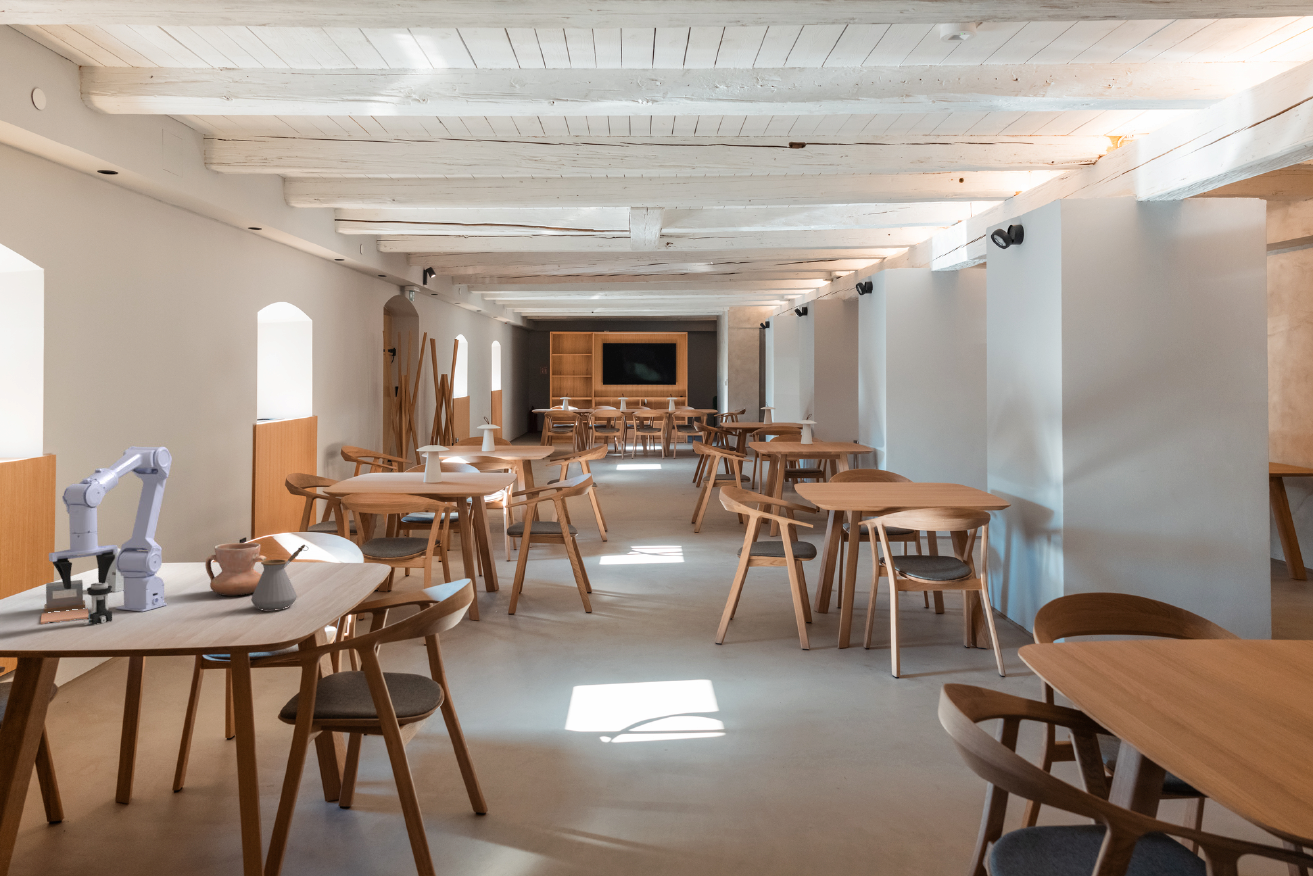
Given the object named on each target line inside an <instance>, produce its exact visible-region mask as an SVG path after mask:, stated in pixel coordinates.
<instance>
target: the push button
mask: <svg viewBox="0 0 1313 876" xmlns="http://www.w3.org/2000/svg"><path fill="white" fill-rule="evenodd" d="M111 588H112V586H109V585H108V583H107V582H105V583H103V584H102V583H99V582H93V583H91V584H90V586H89V587H87V588H86V591H87V596H90V598H91V610H90V613H88V618H89V619H83V620H82V621H83V622H86V623H84V625H91V624H96V625H98V624H97V623H100V624H104V622H105V623H108V622H107V621H110V622H112V621H113V611H112V610H109V609H110V608H109V607H108V606H109V605H108V602H109V600H108V595H109V594H111V593H112V592H111ZM87 621H88V622H87Z"/></svg>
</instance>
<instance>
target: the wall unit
mask: <svg viewBox="0 0 1313 876" xmlns="http://www.w3.org/2000/svg"><path fill="white" fill-rule="evenodd" d="M83 582H84V581H83V579H76V580H71V589H65V588H64V585H63V581H57V582H55V581H54V582H47V583H45V597H46V599H45V601H46V604H45V603H44V606H43V607H44V608H43V613H48V612H54V611H66V610H72V609H83V608H85V609H86V600H85V599H84V598H83V597H84V593H83V591H84V589H83V588H84V587H83V586H84V583H83Z"/></svg>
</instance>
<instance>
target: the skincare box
mask: <svg viewBox="0 0 1313 876" xmlns="http://www.w3.org/2000/svg"><path fill="white" fill-rule="evenodd" d="M120 549H121V547H120V548H119V547H118V553H113V554H114V555H115V559H114V561H113V562H112V564H111V566H110V568H109V571H108V574H107V577H106V582H107V583H108V585H109V586H112V588H111V591H112V592H111V593H118V591H119V592H123V591H122V590H124V581H123V576H121V573H120V572H118V571H117V569H116V566H115V560H116V557H117V555H118V554H119V552H120Z"/></svg>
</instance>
